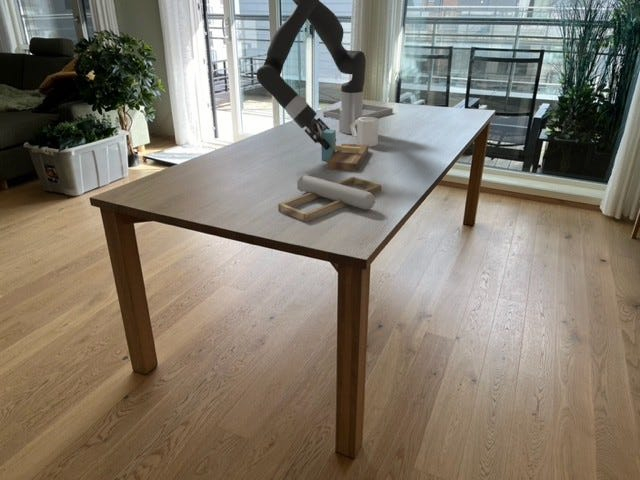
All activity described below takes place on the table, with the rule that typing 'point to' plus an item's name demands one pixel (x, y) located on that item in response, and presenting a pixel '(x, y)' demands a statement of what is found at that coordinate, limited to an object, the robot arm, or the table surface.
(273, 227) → the table surface
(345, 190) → the tube
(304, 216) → the tube rack
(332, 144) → the teal ice pop
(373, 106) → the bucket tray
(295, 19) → the robot arm
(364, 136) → the mug
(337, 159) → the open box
